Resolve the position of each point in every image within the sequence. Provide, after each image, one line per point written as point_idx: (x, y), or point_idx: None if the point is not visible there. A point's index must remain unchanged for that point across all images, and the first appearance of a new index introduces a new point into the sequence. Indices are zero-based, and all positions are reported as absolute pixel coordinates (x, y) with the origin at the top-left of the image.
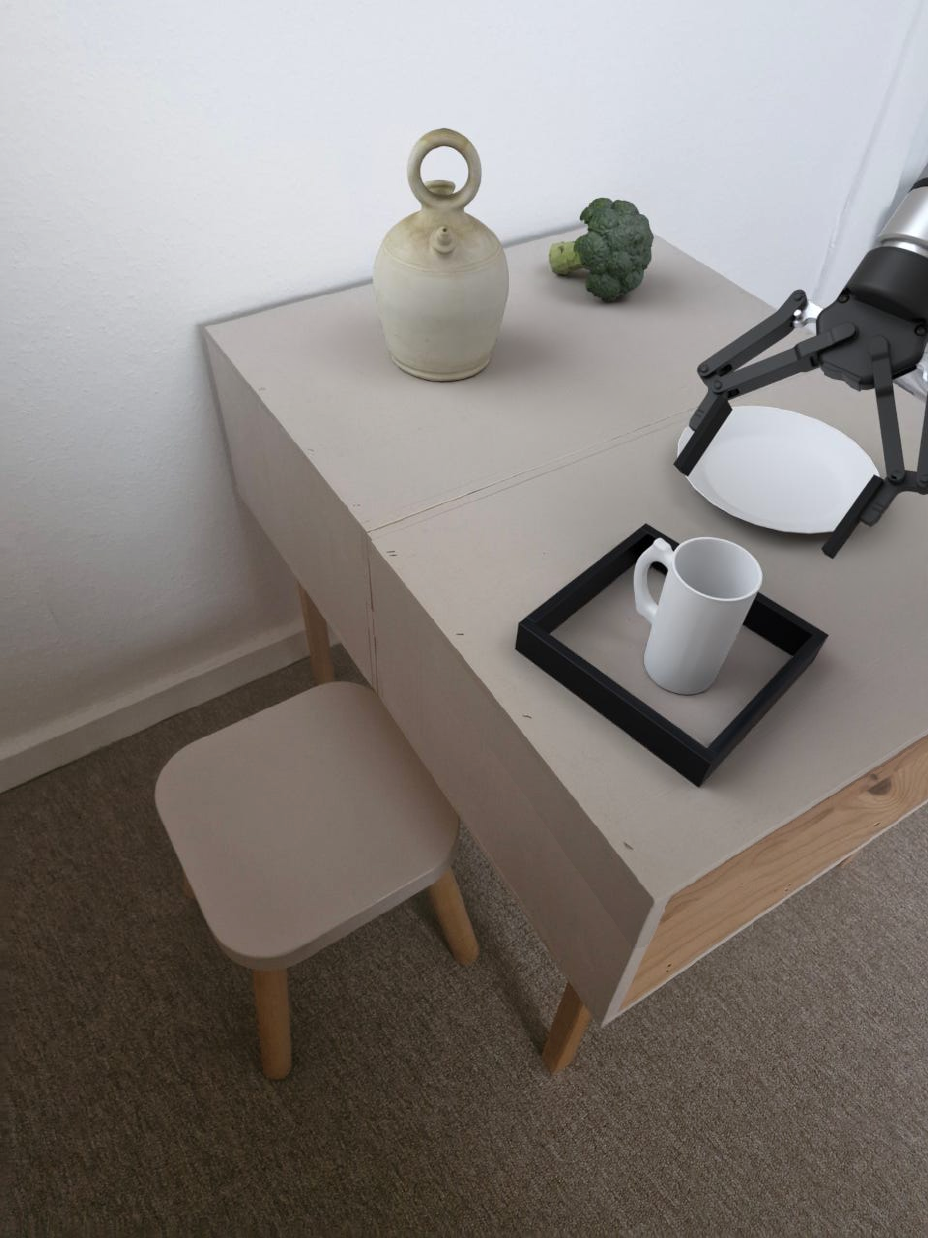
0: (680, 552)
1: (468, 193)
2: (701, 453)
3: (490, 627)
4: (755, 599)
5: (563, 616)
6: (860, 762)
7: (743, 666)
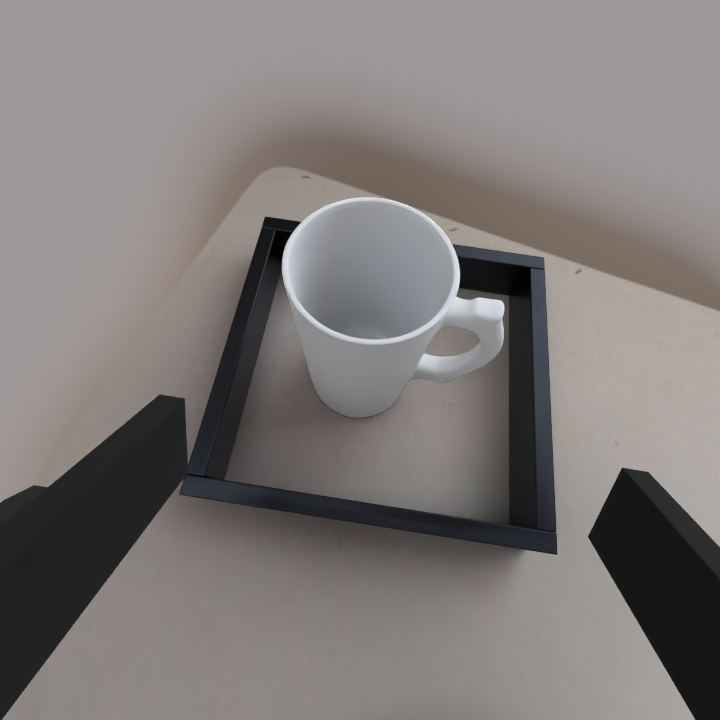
0: (448, 282)
1: None
2: (632, 590)
3: (563, 296)
4: (311, 494)
5: (514, 340)
6: (116, 371)
7: (288, 423)
